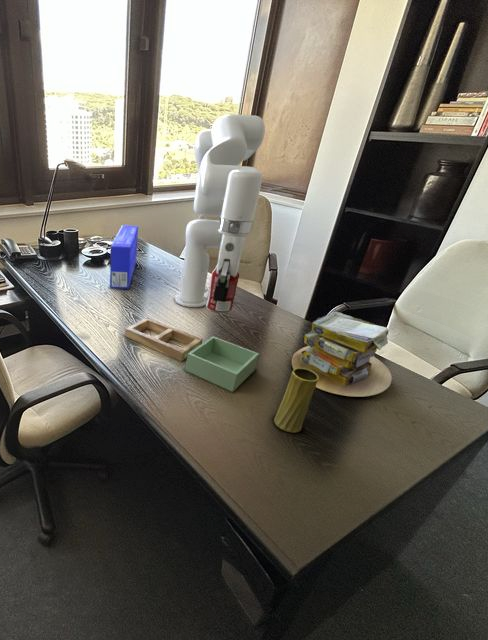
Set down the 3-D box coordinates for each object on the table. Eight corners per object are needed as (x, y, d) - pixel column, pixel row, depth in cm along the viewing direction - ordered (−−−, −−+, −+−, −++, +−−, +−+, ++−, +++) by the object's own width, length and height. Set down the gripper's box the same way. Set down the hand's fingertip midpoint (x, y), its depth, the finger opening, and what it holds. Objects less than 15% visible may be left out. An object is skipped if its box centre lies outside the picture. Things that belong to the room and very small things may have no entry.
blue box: (120, 261, 191) (122, 224, 182) (136, 263, 191) (139, 226, 181) (108, 288, 158) (110, 244, 149) (128, 290, 157) (131, 246, 148)
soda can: (231, 316, 97) (241, 272, 91) (205, 313, 98) (213, 269, 92) (230, 306, 103) (239, 264, 97) (205, 303, 104) (213, 261, 98)
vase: (269, 415, 90) (285, 366, 83) (293, 415, 90) (311, 366, 83) (281, 433, 85) (299, 382, 77) (306, 432, 85) (327, 382, 78)
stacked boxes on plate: (337, 406, 94) (362, 349, 86) (273, 356, 115) (289, 306, 106) (407, 391, 101) (437, 338, 93) (336, 347, 122) (355, 299, 113)
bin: (209, 351, 115) (212, 335, 113) (254, 370, 107) (259, 353, 105) (184, 370, 106) (187, 353, 103) (232, 392, 98) (237, 374, 95)
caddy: (146, 325, 130) (146, 317, 128) (201, 347, 118) (202, 339, 116) (124, 336, 122) (125, 328, 120) (181, 361, 110) (182, 352, 108)
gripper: (248, 236, 81) (232, 310, 90) (253, 221, 95) (238, 287, 104) (214, 231, 83) (201, 305, 93) (223, 218, 98) (211, 283, 107)
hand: (221, 295), depth 98 cm, fingers closed on soda can, 6 cm apart
